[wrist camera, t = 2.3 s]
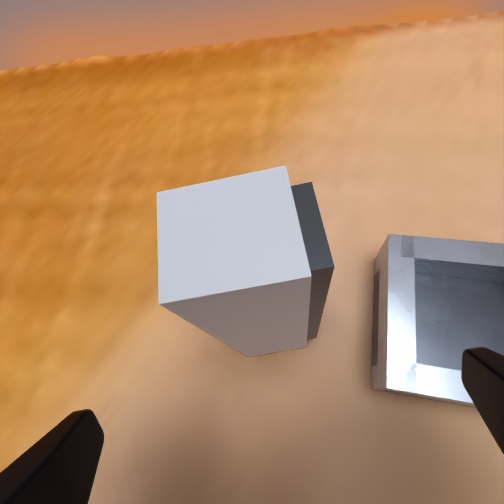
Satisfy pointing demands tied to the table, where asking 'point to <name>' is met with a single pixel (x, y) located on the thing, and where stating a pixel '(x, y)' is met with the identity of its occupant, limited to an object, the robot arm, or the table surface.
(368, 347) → the table surface
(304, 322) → the tall grey pillar
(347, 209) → the table surface
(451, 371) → the grey l-shaped stand
